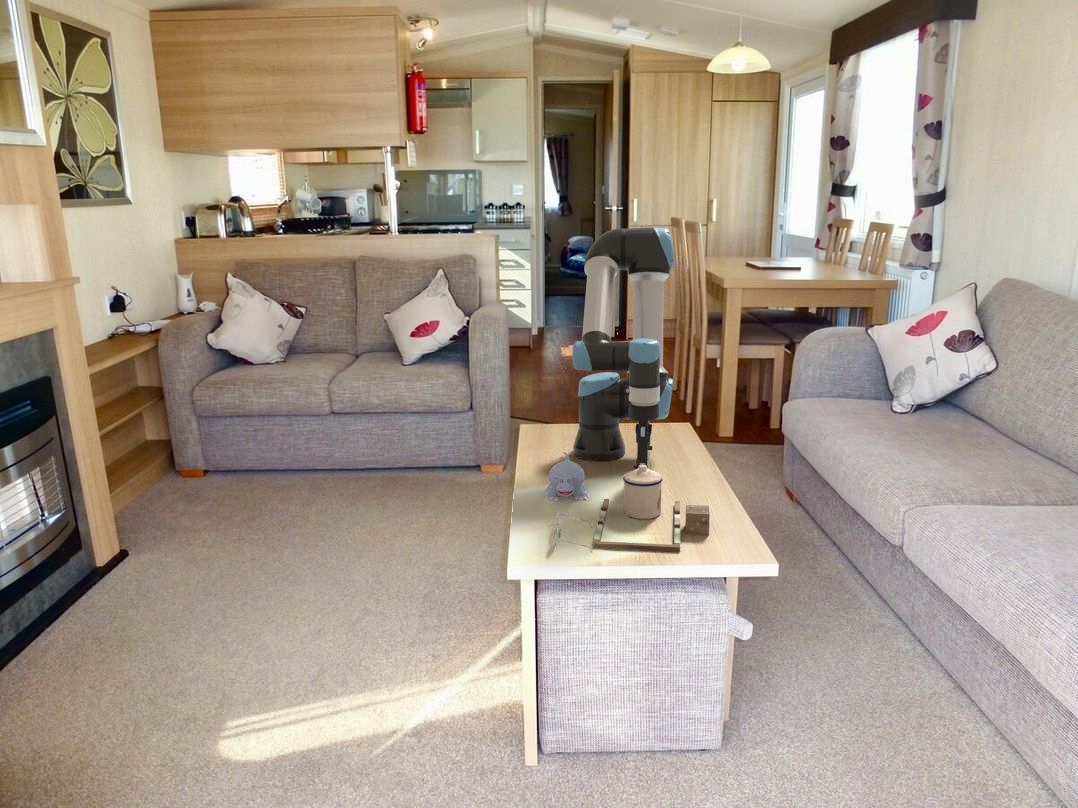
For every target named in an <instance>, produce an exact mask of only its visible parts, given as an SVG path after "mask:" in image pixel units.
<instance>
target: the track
mask: <svg viewBox="0 0 1078 808" xmlns="http://www.w3.org/2000/svg"><path fill="white" fill-rule="evenodd" d="M609 504H610V498H603V502H602V506H601V507H600V512H599V513H600V514H599V517H598V520H597V526H596V529H595V534H594V536H593V537H594V538H593V543H592V547H593V549H609V550H610V549H612V550H613V549H615V550H630V551H631V550H637V551H638V550H639V551H652V552H653V551H655V552H656V551H657V552H659V551H660V552H674V553H675V552H677V553H680V552H681V501H680V500H679V501H674V532H673V533H674V536H673V537H674V538H673V539H674V540H673V541H674V543H673V544H667V543H665V544H664V543H649V542H647V543H645V542H643V543H641V542H624V541H623V542H622V541H619V542H618V541H602V540H601V539H602V536H603V532H604V526H605V522H606V517H607V514H608V508H609Z"/></svg>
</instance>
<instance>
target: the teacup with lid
mask: <svg viewBox="0 0 1078 808" xmlns="http://www.w3.org/2000/svg"><path fill="white" fill-rule="evenodd" d="M622 480H623V490H624V491H623V494H624V495H623V512H624V514H625V515H626V516H628V517H630V518H632V519H637V520H648V519H654V518H657V517H659V516H660V514H661V513H662V482H663V476H662V474H660V473H659V472H657V471H655V470H652V469H651V468H650V469H647V466H646V465H639V467H638V469H633V470H629V471H627V472H626V473H624V475H623V477H622Z"/></svg>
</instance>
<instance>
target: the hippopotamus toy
mask: <svg viewBox="0 0 1078 808" xmlns="http://www.w3.org/2000/svg"><path fill="white" fill-rule="evenodd" d="M562 454H564V460H563V461H559V462H558V463H556V464H554V465H553V467H551V469H550V471H549V475H548V480H549V483H548V484H547V485H548V486H547V487H546V489H545V491H544V493H545V495H544V498H543V499H544V500H545V501H552V502H553V501H556V500H557V501H558V498H559V496H561V497H563V498H566V497H570V496H573V499H574V500H575V501H587V500H588V498H589V497H588V489H587V487H586V485H585V484H584V482H585V478H586V477H585V471H584V469H583V468H582V466H581V465H580V464H578V463H576V462H574V461H572V460H570V457H569V455H568V453H566V452H562Z"/></svg>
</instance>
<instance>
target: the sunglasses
mask: <svg viewBox="0 0 1078 808" xmlns="http://www.w3.org/2000/svg"><path fill="white" fill-rule="evenodd" d="M560 516H562V517H563V516H564V517H568V518H572V519H576V520H578V518H577V517H573V516H570V515H565V514H561V513H560V512H558V513H557V522H556V528H555V534H554V535H555V540H554V545H553V546H554V548H553V550H554V551H555V550H556V546H557V541H559V542H563V543H568V544H569V543H570V544H575V545H577V546H578V545H579V546H583V547H585V548H588V549H589V551H590V553H593V551H592V549H591V548H590V546H588V545H585V544H580V543H577V542H576V543H575V542H571V541H567V540H564V539H560V538H561V537H562V527H560V524H559V523H560V522H559V521H560ZM579 520H581V521H583V522H587V523H588V525H589V526H590V529H592V528H593V527H592V525H591V523H590V522H589V521H588V520H585V519H582V518H581V519H580V518H579Z"/></svg>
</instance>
